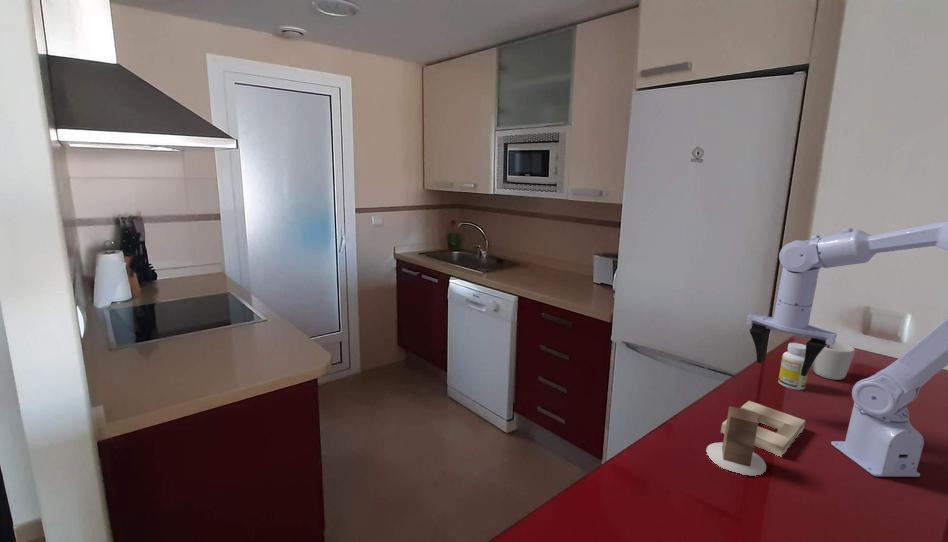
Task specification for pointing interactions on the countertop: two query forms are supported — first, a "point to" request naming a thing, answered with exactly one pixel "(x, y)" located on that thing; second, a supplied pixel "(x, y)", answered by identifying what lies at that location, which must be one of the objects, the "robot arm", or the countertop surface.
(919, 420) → the countertop surface
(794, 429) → the holder block
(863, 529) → the countertop surface
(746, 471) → the coaster
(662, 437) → the countertop surface
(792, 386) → the supplement bottle
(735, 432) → the plug peg
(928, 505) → the countertop surface
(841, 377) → the cup
